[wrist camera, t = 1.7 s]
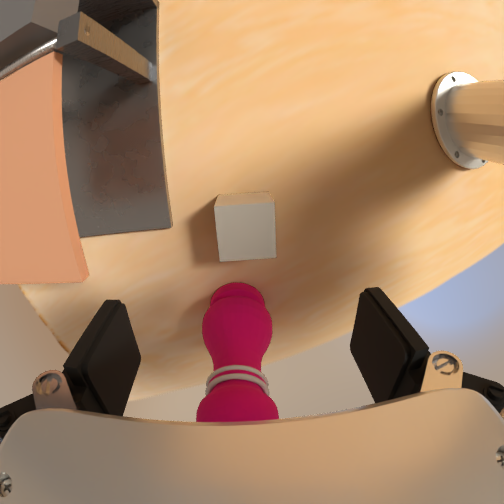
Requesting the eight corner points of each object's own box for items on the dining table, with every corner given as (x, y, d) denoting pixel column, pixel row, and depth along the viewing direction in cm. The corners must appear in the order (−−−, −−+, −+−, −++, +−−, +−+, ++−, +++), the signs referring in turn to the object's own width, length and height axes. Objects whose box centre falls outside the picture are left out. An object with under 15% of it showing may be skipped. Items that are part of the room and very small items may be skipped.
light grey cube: (268, 191, 28) (274, 202, 23) (270, 238, 30) (276, 257, 25) (218, 194, 28) (213, 206, 23) (222, 242, 30) (219, 261, 25)
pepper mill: (224, 267, 31) (208, 432, 12) (280, 294, 32) (317, 454, 14) (196, 314, 33) (167, 470, 14) (249, 337, 34) (257, 488, 16)
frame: (159, 2, 19) (101, -79, 4) (173, 225, 29) (113, 313, 14) (23, 55, 19) (-66, 42, 4) (38, 240, 28) (-44, 303, 14)
